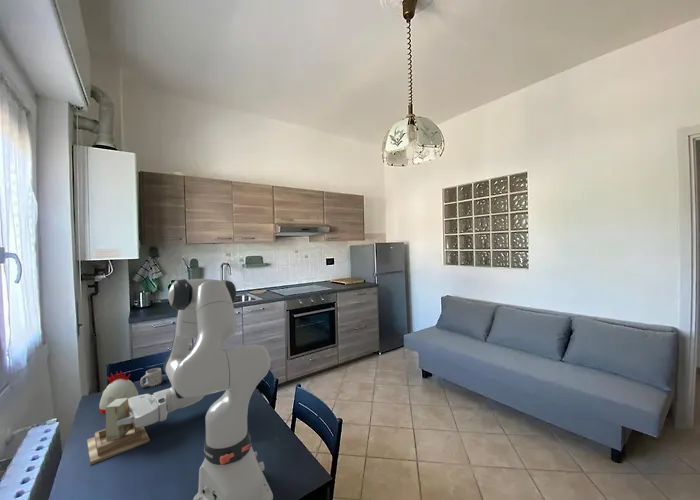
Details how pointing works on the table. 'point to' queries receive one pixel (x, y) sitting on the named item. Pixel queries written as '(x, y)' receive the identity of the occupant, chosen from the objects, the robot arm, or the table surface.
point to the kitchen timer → (117, 390)
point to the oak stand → (115, 443)
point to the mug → (152, 377)
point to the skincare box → (114, 412)
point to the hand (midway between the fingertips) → (114, 418)
